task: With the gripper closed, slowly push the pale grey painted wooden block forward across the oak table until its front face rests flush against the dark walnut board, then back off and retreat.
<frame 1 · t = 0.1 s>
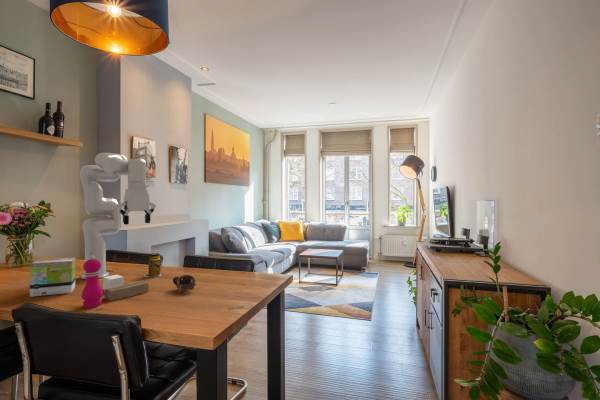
hand: (137, 223, 144), 31 cm above the table, fingers open, 9 cm apart
block: (113, 289, 147), on the table
condiment: (152, 275, 174), on the table
pepper mill: (92, 305, 126), on the table
pottery mug: (184, 290, 146), on the table
board: (127, 294, 139), on the table
tea box: (53, 292, 142), on the table
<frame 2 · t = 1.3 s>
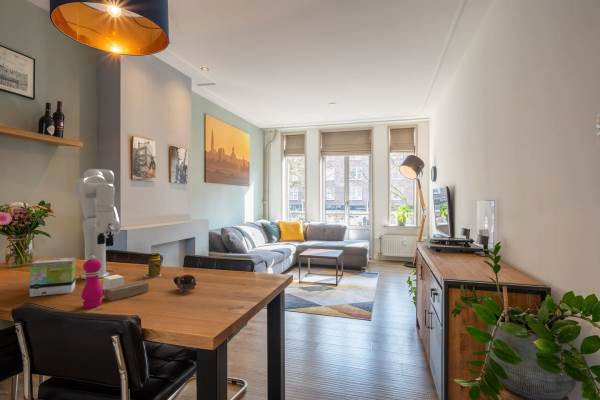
hand: (105, 245, 152), 20 cm above the table, fingers open, 8 cm apart
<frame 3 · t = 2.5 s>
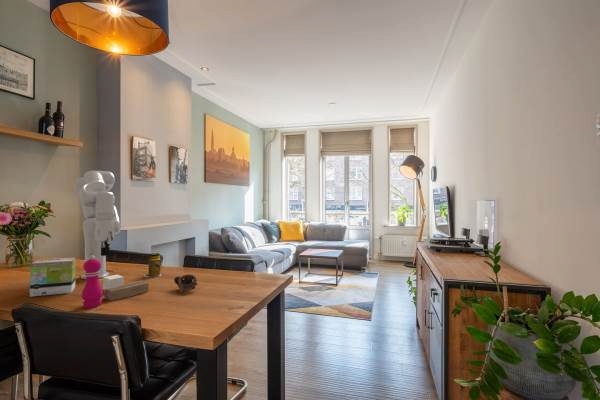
hand: (105, 255, 152), 15 cm above the table, fingers closed
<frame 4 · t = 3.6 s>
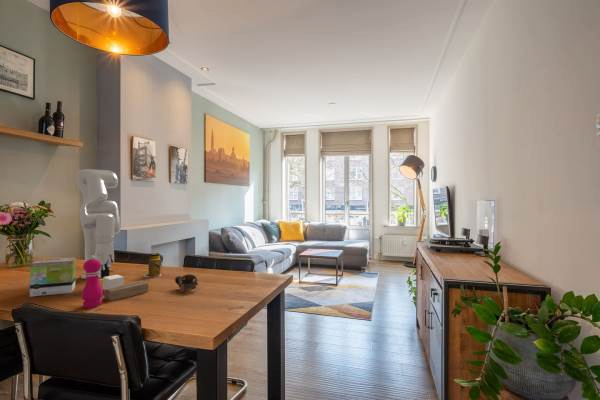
hand: (105, 277, 152), 4 cm above the table, fingers closed
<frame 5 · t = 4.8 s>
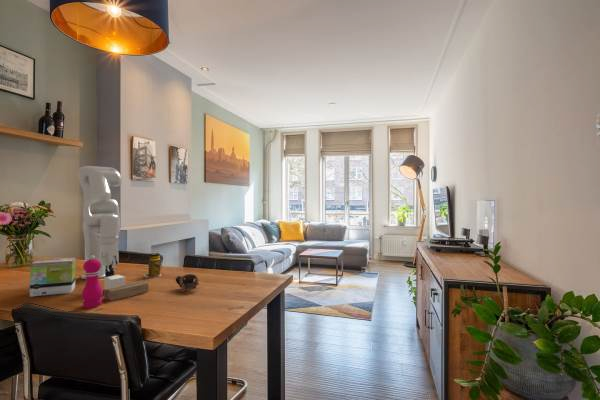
hand: (109, 279, 149), 4 cm above the table, fingers closed
block: (115, 289, 146), on the table, touching gripper
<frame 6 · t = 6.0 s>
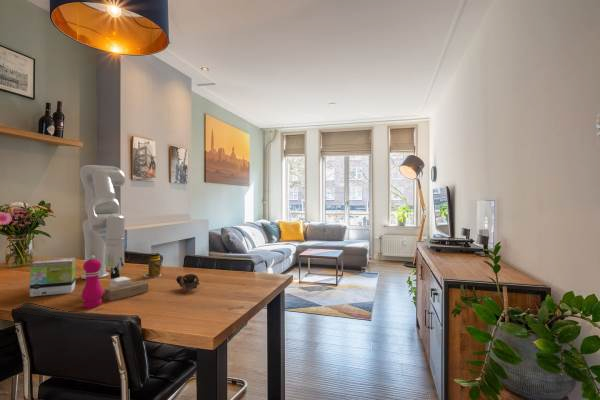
hand: (114, 281, 146), 4 cm above the table, fingers closed
block: (120, 292, 143), on the table, touching board, gripper
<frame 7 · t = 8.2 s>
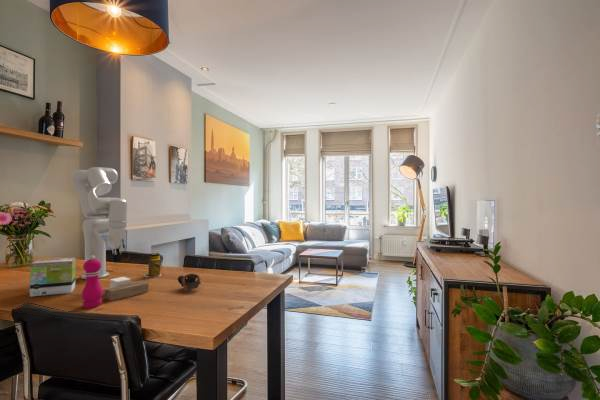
hand: (116, 261, 153), 12 cm above the table, fingers closed
block: (120, 292, 143), on the table
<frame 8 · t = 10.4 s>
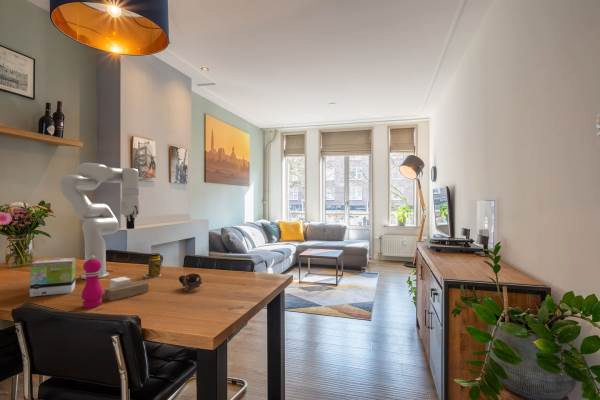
hand: (130, 228, 160), 27 cm above the table, fingers closed
at the end: block inside the target area on the table beside the board (0.5 cm from its centre), on the table; block tilted 0° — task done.
